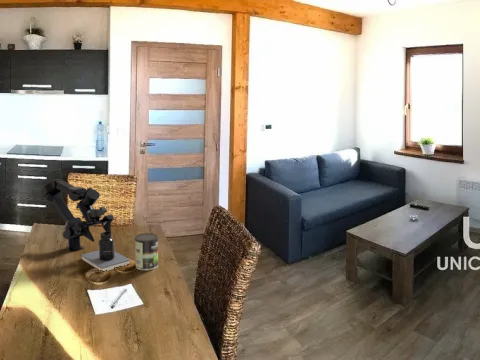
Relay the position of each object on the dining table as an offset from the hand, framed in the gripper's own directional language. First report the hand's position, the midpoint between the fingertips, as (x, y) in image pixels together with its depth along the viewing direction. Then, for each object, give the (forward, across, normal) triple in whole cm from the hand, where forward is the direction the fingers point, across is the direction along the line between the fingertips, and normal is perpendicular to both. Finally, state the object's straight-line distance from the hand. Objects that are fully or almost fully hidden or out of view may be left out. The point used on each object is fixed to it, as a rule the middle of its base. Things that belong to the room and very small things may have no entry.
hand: (102, 238), depth 194 cm
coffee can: (+22, +10, -6) cm, 24 cm away
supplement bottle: (+8, 0, +4) cm, 9 cm away
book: (+9, 0, +7) cm, 12 cm away
